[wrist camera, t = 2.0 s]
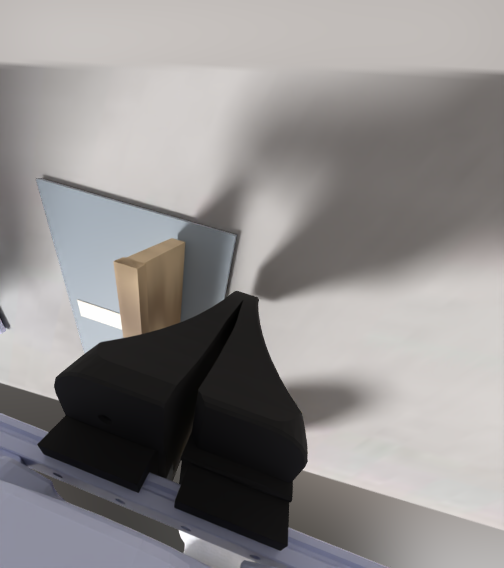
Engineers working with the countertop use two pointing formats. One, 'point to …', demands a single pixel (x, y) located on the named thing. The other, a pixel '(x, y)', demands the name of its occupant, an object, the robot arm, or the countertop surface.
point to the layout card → (126, 255)
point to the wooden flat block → (150, 287)
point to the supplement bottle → (210, 553)
